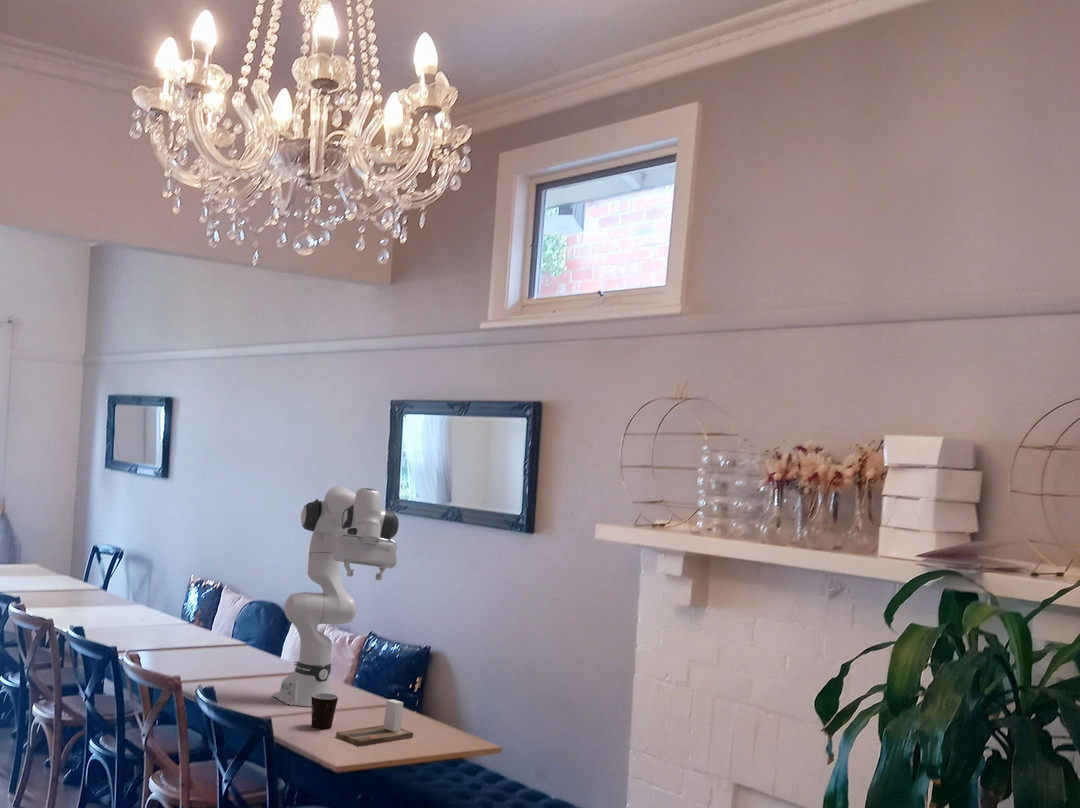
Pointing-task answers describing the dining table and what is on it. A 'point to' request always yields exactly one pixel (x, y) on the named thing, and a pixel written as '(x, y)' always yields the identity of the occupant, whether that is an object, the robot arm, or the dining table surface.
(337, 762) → the dining table surface
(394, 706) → the switch tab
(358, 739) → the switch board
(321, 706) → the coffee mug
